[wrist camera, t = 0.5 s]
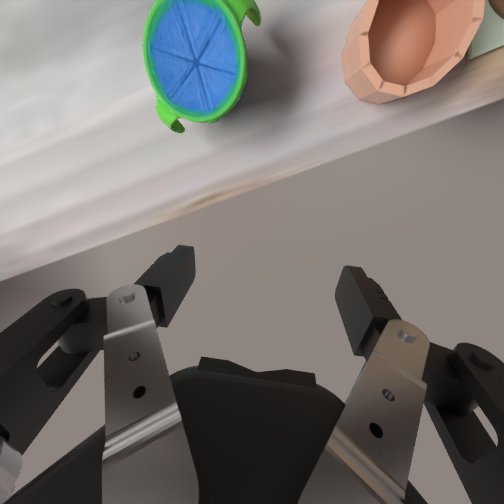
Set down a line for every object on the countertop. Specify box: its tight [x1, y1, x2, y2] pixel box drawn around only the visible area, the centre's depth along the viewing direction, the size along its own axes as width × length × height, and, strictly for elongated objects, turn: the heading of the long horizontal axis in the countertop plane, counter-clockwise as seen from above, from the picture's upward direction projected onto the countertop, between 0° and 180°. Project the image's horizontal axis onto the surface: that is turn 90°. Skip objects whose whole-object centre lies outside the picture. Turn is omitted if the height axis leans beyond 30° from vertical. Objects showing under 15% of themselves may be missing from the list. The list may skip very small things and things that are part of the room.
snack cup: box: [143, 0, 261, 133], centre depth 26 cm, size 16×10×10 cm
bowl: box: [342, 0, 485, 104], centre depth 24 cm, size 11×11×6 cm
